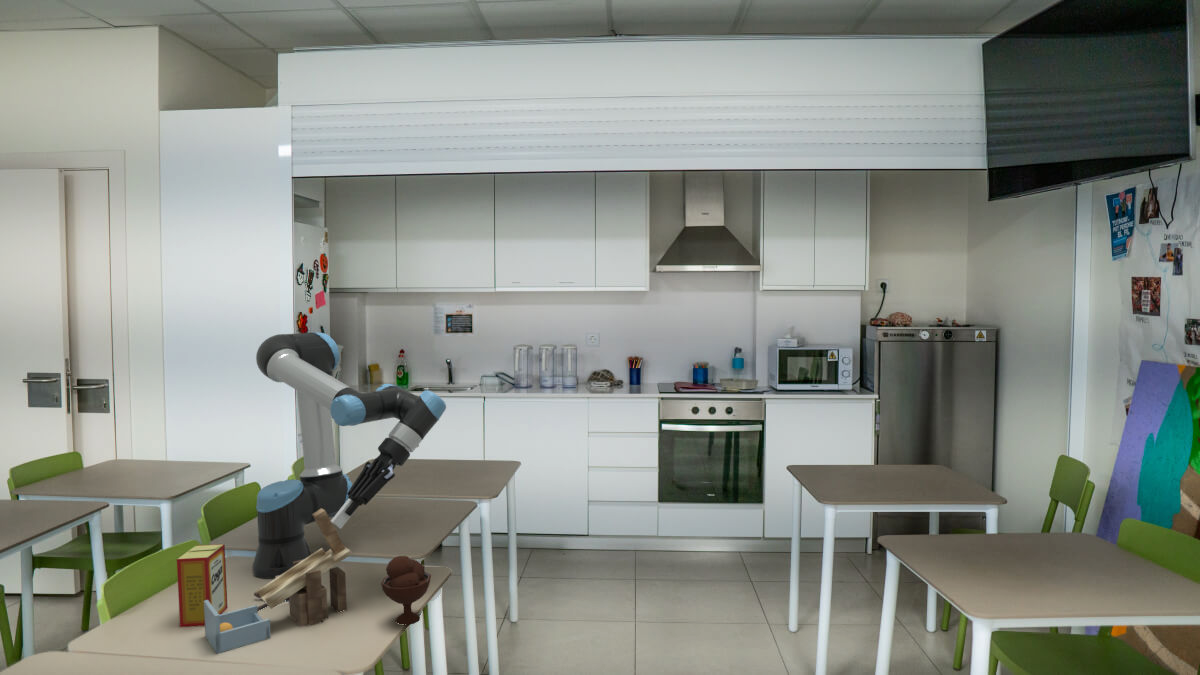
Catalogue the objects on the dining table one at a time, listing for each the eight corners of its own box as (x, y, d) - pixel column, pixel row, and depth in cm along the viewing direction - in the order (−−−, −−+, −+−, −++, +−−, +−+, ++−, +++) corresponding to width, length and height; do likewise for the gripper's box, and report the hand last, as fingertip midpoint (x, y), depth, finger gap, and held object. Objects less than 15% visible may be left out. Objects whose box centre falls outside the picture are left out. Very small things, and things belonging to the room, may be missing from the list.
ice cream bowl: (420, 632, 159) (418, 565, 158) (373, 628, 161) (371, 562, 160) (440, 611, 169) (438, 548, 168) (396, 608, 171) (394, 546, 171)
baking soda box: (210, 625, 164) (206, 556, 164) (180, 627, 164) (176, 557, 163) (227, 607, 174) (224, 542, 173) (199, 609, 173) (195, 543, 172)
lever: (341, 546, 176) (319, 505, 172) (351, 553, 170) (329, 511, 167) (262, 599, 164) (237, 557, 161) (271, 609, 159) (245, 565, 155)
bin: (257, 622, 166) (255, 587, 165) (270, 637, 157) (269, 601, 157) (205, 636, 159) (203, 600, 158) (216, 653, 151) (215, 616, 150)
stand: (335, 600, 177) (333, 552, 176) (350, 613, 169) (349, 563, 168) (288, 613, 170) (286, 563, 169) (302, 628, 162) (300, 575, 161)
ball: (224, 642, 157) (209, 637, 155) (231, 625, 159) (216, 620, 157) (231, 641, 155) (216, 637, 153) (238, 625, 157) (223, 620, 155)
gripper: (421, 457, 178) (357, 539, 168) (398, 450, 188) (337, 527, 178) (400, 439, 175) (334, 522, 164) (378, 433, 184) (314, 510, 174)
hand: (335, 524), depth 171 cm, fingers closed
